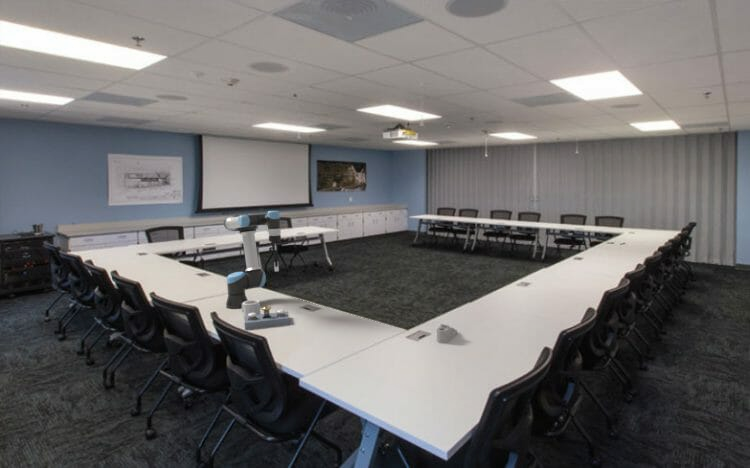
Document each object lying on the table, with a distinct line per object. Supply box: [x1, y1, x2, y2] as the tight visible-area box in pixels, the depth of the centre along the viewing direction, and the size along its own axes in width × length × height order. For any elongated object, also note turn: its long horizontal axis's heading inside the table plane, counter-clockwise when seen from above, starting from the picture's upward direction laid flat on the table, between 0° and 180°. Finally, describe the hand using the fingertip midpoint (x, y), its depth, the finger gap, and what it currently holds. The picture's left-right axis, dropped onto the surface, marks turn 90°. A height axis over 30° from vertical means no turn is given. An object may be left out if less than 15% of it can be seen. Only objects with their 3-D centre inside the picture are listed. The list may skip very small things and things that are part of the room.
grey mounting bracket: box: [436, 323, 458, 344], centre depth 224 cm, size 6×18×8 cm, turn 146°
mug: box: [241, 299, 261, 319], centre depth 269 cm, size 14×11×10 cm
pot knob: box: [261, 305, 271, 318], centre depth 254 cm, size 5×5×6 cm
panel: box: [244, 311, 291, 331], centre depth 255 cm, size 14×26×4 cm, turn 106°
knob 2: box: [276, 309, 286, 317], centre depth 257 cm, size 5×5×6 cm
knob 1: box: [248, 313, 257, 320], centre depth 253 cm, size 5×5×6 cm
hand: (276, 271), depth 268 cm, fingers closed
